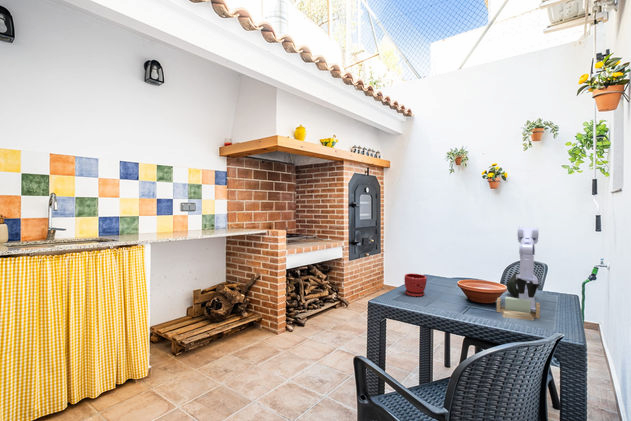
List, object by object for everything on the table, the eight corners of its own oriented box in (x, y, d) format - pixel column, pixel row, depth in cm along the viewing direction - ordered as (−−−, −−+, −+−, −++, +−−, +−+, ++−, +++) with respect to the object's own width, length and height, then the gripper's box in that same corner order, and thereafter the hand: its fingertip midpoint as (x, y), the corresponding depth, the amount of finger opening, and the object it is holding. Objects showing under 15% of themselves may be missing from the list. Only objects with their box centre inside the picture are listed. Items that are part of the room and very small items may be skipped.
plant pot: (402, 296, 199) (403, 276, 198) (405, 291, 211) (405, 272, 210) (425, 298, 194) (425, 278, 193) (427, 293, 206) (427, 274, 205)
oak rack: (497, 308, 176) (497, 297, 176) (539, 314, 166) (539, 303, 166) (496, 311, 170) (496, 300, 170) (539, 318, 160) (539, 306, 160)
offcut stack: (501, 315, 166) (501, 310, 166) (531, 318, 162) (531, 313, 162) (503, 318, 162) (503, 312, 162) (533, 321, 158) (533, 315, 158)
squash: (542, 292, 189) (533, 269, 199) (514, 292, 191) (506, 269, 201) (533, 303, 199) (525, 281, 209) (507, 302, 202) (500, 281, 212)
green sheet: (505, 310, 173) (505, 296, 173) (530, 314, 167) (530, 299, 167) (505, 312, 169) (505, 298, 169) (530, 316, 164) (530, 301, 163)
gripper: (510, 265, 170) (509, 291, 170) (527, 270, 155) (527, 298, 155) (523, 266, 170) (523, 292, 170) (542, 270, 155) (542, 299, 155)
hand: (526, 295), depth 162 cm, fingers open, 7 cm apart
